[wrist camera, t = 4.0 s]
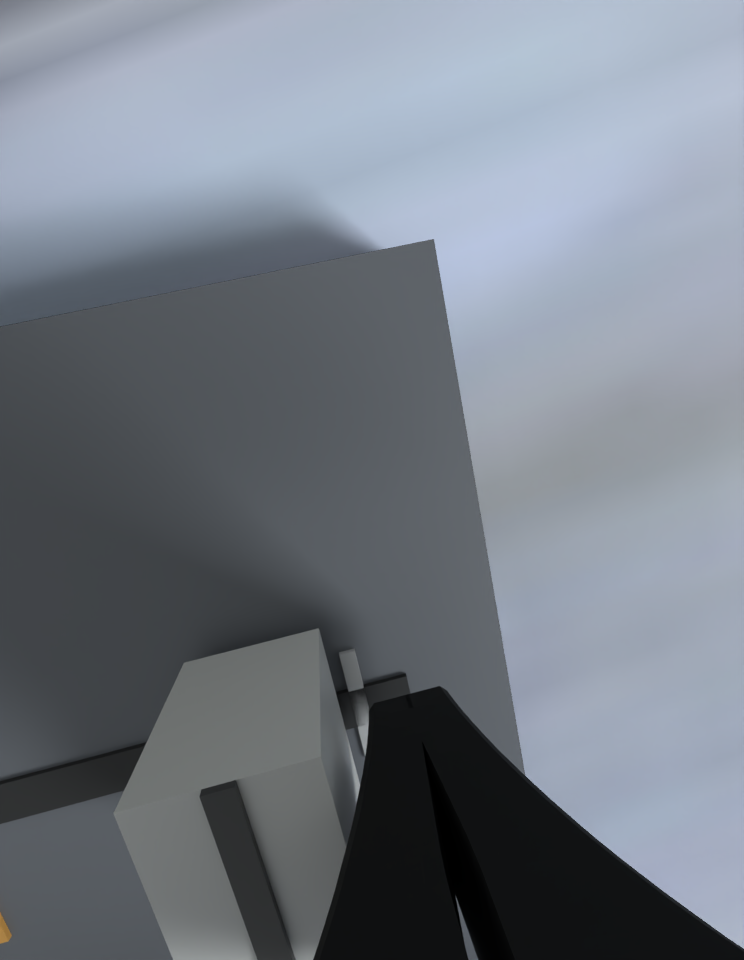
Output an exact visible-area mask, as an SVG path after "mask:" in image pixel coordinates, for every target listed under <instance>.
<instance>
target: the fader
mask: <svg viewBox="0 0 744 960" xmlns="http://www.w3.org/2000/svg"><path fill="white" fill-rule="evenodd" d="M359 789H360V783H359V779H358V775H357V771H356V767H355V764H354V760H353V756H352V752H351V748H350V745H349V741H348V737H347V733H346V729H345V726H344V722H343V718H342V714H341V711H340V707H339V703H338V699H337V695H336V692H335V688H334V684H333V680H332V676H331V673H330V669H329V665H328V661H327V657H326V654H325V650H324V646H323V642H322V638H321V635H320V631H319V628H318V629H314V630H310V631H306V632H302V633H298V634H294V635H290V636H286V637H283V638H279V639H275V640H271V641H267V642H263V643H259V644H255V645H251V646H247V647H244V648H240V649H236V650H232V651H228V652H224V653H220V654H216V655H212V656H208V657H204V658H201V659H197V660H193V661H189V662H185V663H184V664H183V666H182V668H181V670H180V672H179V674H178V677H177V679H176V681H175V683H174V685H173V687H172V689H171V692H170V694H169V696H168V698H167V700H166V702H165V704H164V707H163V709H162V711H161V713H160V715H159V717H158V719H157V721H156V724H155V726H154V728H153V730H152V732H151V734H150V736H149V739H148V741H147V743H146V745H145V747H144V749H143V751H142V754H141V756H140V758H139V760H138V762H137V764H136V766H135V769H134V771H133V773H132V775H131V777H130V779H129V781H128V784H127V786H126V788H125V790H124V792H123V794H122V796H121V798H120V801H119V803H118V805H117V807H116V809H115V811H114V813H113V814H114V816H115V819H116V821H117V824H118V826H119V829H120V831H121V833H122V836H123V838H124V841H125V843H126V846H127V848H128V851H129V853H130V855H131V858H132V860H133V863H134V865H135V868H136V870H137V873H138V875H139V877H140V880H141V882H142V885H143V887H144V890H145V892H146V895H147V897H148V900H149V902H150V904H151V907H152V909H153V912H154V914H155V917H156V919H157V922H158V924H159V926H160V929H161V931H162V934H163V936H164V939H165V941H166V944H167V946H168V948H169V951H170V953H171V956H172V958H173V960H313V959H314V956H315V953H316V950H317V947H318V944H319V940H320V937H321V934H322V931H323V928H324V925H325V921H326V918H327V915H328V912H329V908H330V905H331V902H332V898H333V895H334V891H335V888H336V884H337V880H338V877H339V873H340V869H341V865H342V862H343V858H344V854H345V850H346V846H347V843H348V839H349V835H350V831H351V827H352V823H353V818H354V814H355V809H356V804H357V799H358V794H359Z"/></svg>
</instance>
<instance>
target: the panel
mask: <svg viewBox="0 0 744 960" xmlns="http://www.w3.org/2000/svg"><path fill="white" fill-rule="evenodd" d="M318 628H319V631H320V635H321V638H322V642H323V646H324V650H325V654H326V657H327V661H328V665H329V669H330V673H331V676H332V680H333V684H334V688H335V692H336V695H337V699H338V703H339V707H340V711H341V714H342V718H343V722H344V726H345V729H346V733H347V737H348V741H349V745H350V748H351V752H352V756H353V760H354V764H355V767H356V771H357V775H358V779H359V783H360V784H361V779H362V774H363V768H364V761H365V755H366V748H367V739H368V726H369V712H368V711H369V709H370V708H371V707H372V705H373V704H374V703H377V702H381V701H384V700H388V699H392V698H396V697H399V696H403V695H407V694H411V693H414V692H418V691H422V690H426V689H430V688H433V687H437V686H441V687H442V688H444V689H446V690H447V691H448V693H449V694H450V695H451V697H452V698H453V699H454V700H455V702H456V703H457V704H458V706H459V707H460V708H461V709H462V710H463V712H464V713H465V714H466V715H467V716H468V717H469V718H470V720H471V721H472V722H473V723H474V724H475V725H476V726H477V727H478V728H479V730H480V731H481V732H482V733H483V734H484V735H485V736H486V737H487V738H488V739H489V740H490V741H491V742H492V743H493V744H494V746H495V747H496V748H497V749H498V750H499V751H500V752H501V753H502V754H503V755H504V756H505V757H506V758H507V759H509V760H510V761H511V762H512V763H513V764H514V765H515V766H516V767H517V768H518V769H519V770H520V771H521V772H522V773H523V774H524V775H525V772H524V766H523V760H522V754H521V748H520V742H519V737H518V731H517V725H516V719H515V713H514V707H513V701H512V696H511V690H510V684H509V678H508V672H507V666H506V660H505V654H504V649H503V643H502V637H501V631H500V625H499V619H498V613H497V607H496V602H495V596H494V590H493V584H492V578H491V572H490V566H489V561H488V555H487V549H486V543H485V537H484V531H483V525H482V519H481V514H480V508H479V502H478V496H477V490H476V484H475V478H474V473H473V467H472V461H471V455H470V449H469V443H468V437H467V431H466V426H465V420H464V414H463V408H462V402H461V396H460V390H459V384H458V379H457V373H456V367H455V361H454V355H453V349H452V343H451V338H450V332H449V326H448V320H447V314H446V308H445V302H444V296H443V291H442V285H441V279H440V273H439V267H438V261H437V255H436V250H435V244H434V239H432V240H427V241H422V242H417V243H412V244H407V245H402V246H398V247H393V248H388V249H383V250H378V251H373V252H368V253H363V254H358V255H353V256H348V257H343V258H338V259H333V260H328V261H323V262H318V263H313V264H308V265H303V266H298V267H293V268H289V269H284V270H279V271H274V272H269V273H264V274H259V275H254V276H249V277H244V278H239V279H234V280H229V281H224V282H219V283H214V284H209V285H204V286H199V287H194V288H189V289H184V290H180V291H175V292H170V293H165V294H160V295H155V296H150V297H145V298H140V299H135V300H130V301H125V302H120V303H115V304H110V305H105V306H100V307H95V308H90V309H85V310H80V311H75V312H71V313H66V314H61V315H56V316H51V317H46V318H41V319H36V320H31V321H26V322H21V323H16V324H11V325H6V326H1V327H0V960H173V958H172V956H171V953H170V951H169V948H168V946H167V944H166V941H165V939H164V936H163V934H162V931H161V929H160V926H159V924H158V922H157V919H156V917H155V914H154V912H153V909H152V907H151V904H150V902H149V900H148V897H147V895H146V892H145V890H144V887H143V885H142V882H141V880H140V877H139V875H138V873H137V870H136V868H135V865H134V863H133V860H132V858H131V855H130V853H129V851H128V848H127V846H126V843H125V841H124V838H123V836H122V833H121V831H120V829H119V826H118V824H117V821H116V819H115V816H114V814H113V813H114V811H115V809H116V807H117V805H118V803H119V801H120V798H121V796H122V794H123V792H124V790H125V788H126V786H127V784H128V781H129V779H130V777H131V775H132V773H133V771H134V769H135V766H136V764H137V762H138V760H139V758H140V756H141V754H142V751H143V749H144V747H145V745H146V743H147V741H148V739H149V736H150V734H151V732H152V730H153V728H154V726H155V724H156V721H157V719H158V717H159V715H160V713H161V711H162V709H163V707H164V704H165V702H166V700H167V698H168V696H169V694H170V692H171V689H172V687H173V685H174V683H175V681H176V679H177V677H178V674H179V672H180V670H181V668H182V666H183V664H184V663H185V662H189V661H193V660H197V659H201V658H204V657H208V656H212V655H216V654H220V653H224V652H228V651H232V650H236V649H240V648H244V647H247V646H251V645H255V644H259V643H263V642H267V641H271V640H275V639H279V638H283V637H286V636H290V635H294V634H298V633H302V632H306V631H310V630H314V629H318ZM455 896H456V895H455ZM456 901H457V898H456ZM457 906H458V911H459V917H460V922H461V927H462V932H463V938H464V943H465V948H466V952H467V955H468V959H469V960H478V958H477V955H476V952H475V949H474V946H473V944H472V941H471V938H470V935H469V932H468V929H467V926H466V924H465V921H464V918H463V915H462V912H461V909H460V906H459V904H458V901H457Z"/></svg>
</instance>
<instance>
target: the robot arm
mask: <svg viewBox="0 0 744 960" xmlns="http://www.w3.org/2000/svg"><path fill="white" fill-rule="evenodd" d="M368 712H369V726H368V739H367V748H366V755H365V761H364V768H363V774H362V779H361V784H360V789H359V794H358V799H357V804H356V809H355V814H354V818H353V823H352V827H351V831H350V835H349V839H348V843H347V846H346V850H345V854H344V858H343V862H342V865H341V869H340V873H339V877H338V880H337V884H336V888H335V891H334V895H333V898H332V902H331V905H330V908H329V912H328V915H327V918H326V921H325V925H324V928H323V931H322V934H321V937H320V940H319V944H318V947H317V950H316V953H315V956H314V959H313V960H469V959H468V955H467V952H466V948H465V943H464V938H463V932H462V927H461V922H460V917H459V911H458V906H457V901H458V904H459V906H460V909H461V912H462V915H463V918H464V921H465V924H466V926H467V929H468V932H469V935H470V938H471V941H472V944H473V946H474V949H475V952H476V955H477V958H478V960H744V949H743V948H742V947H740V946H739V945H737V944H736V943H734V942H733V941H731V940H730V939H728V938H727V937H725V936H724V935H722V934H721V933H720V932H718V931H717V930H715V929H714V928H713V927H711V926H710V925H709V924H707V923H706V922H704V921H703V920H702V919H700V918H699V917H698V916H696V915H695V914H693V913H692V912H691V911H689V910H688V909H687V908H685V907H684V906H682V905H681V904H680V903H678V902H677V901H676V900H674V899H673V898H671V897H670V896H669V895H667V894H666V893H665V892H663V891H662V890H661V889H659V888H658V887H657V886H655V885H654V884H653V883H652V882H650V881H649V880H648V879H646V878H645V877H644V876H642V875H641V874H640V873H639V872H637V871H636V870H635V869H633V868H632V867H631V866H629V865H628V864H627V863H626V862H624V861H623V860H622V859H620V858H619V857H618V856H617V855H615V854H614V853H613V852H612V851H611V850H609V849H608V848H607V847H606V846H604V845H603V844H602V843H601V842H599V841H598V840H597V839H596V838H595V837H593V836H592V835H591V834H590V833H589V832H588V831H586V830H585V829H584V828H583V827H582V826H580V825H579V824H578V823H577V822H576V821H575V820H574V819H572V818H571V817H570V816H569V815H568V814H567V813H565V812H564V811H563V810H562V809H561V808H560V807H559V806H557V805H556V804H555V803H554V802H553V801H552V800H551V799H550V798H548V797H547V796H546V795H545V794H544V793H543V792H542V791H541V790H540V789H539V788H538V787H537V786H535V785H534V784H533V783H532V782H531V781H530V780H529V779H528V778H527V777H526V776H525V775H524V774H523V773H522V772H521V771H520V770H519V769H518V768H517V767H516V766H515V765H514V764H513V763H512V762H511V761H510V760H509V759H507V758H506V757H505V756H504V755H503V754H502V753H501V752H500V751H499V750H498V749H497V748H496V747H495V746H494V744H493V743H492V742H491V741H490V740H489V739H488V738H487V737H486V736H485V735H484V734H483V733H482V732H481V731H480V730H479V728H478V727H477V726H476V725H475V724H474V723H473V722H472V721H471V720H470V718H469V717H468V716H467V715H466V714H465V713H464V712H463V710H462V709H461V708H460V707H459V706H458V704H457V703H456V702H455V700H454V699H453V698H452V697H451V695H450V694H449V693H448V691H447V690H446V689H444V688H442V687H441V686H437V687H433V688H430V689H426V690H422V691H418V692H414V693H411V694H407V695H403V696H399V697H396V698H392V699H388V700H384V701H381V702H377V703H374V704H373V705H372V707H371V708H370V709H369V711H368ZM455 895H456V896H455ZM456 898H457V901H456Z"/></svg>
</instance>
